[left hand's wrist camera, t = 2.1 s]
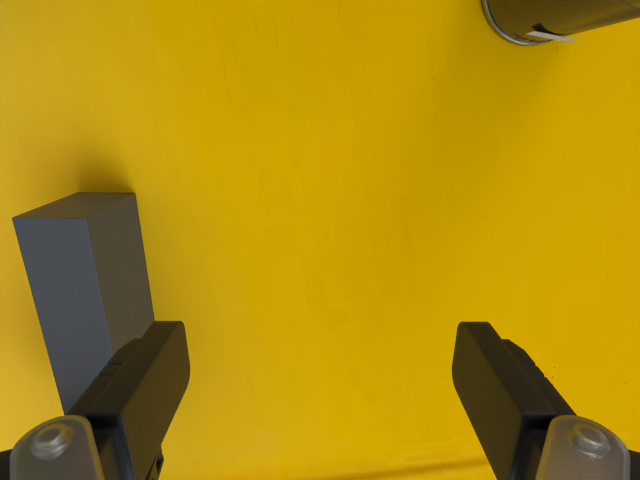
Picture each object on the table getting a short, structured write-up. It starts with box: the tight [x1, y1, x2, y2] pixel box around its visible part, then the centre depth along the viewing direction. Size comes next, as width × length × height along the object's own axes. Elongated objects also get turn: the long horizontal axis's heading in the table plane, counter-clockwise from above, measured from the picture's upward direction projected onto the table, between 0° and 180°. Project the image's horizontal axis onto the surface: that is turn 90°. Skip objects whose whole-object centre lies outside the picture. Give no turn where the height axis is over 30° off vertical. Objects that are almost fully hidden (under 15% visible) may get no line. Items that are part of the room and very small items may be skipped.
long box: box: [12, 192, 154, 415], centre depth 40 cm, size 27×6×9 cm, turn 179°
